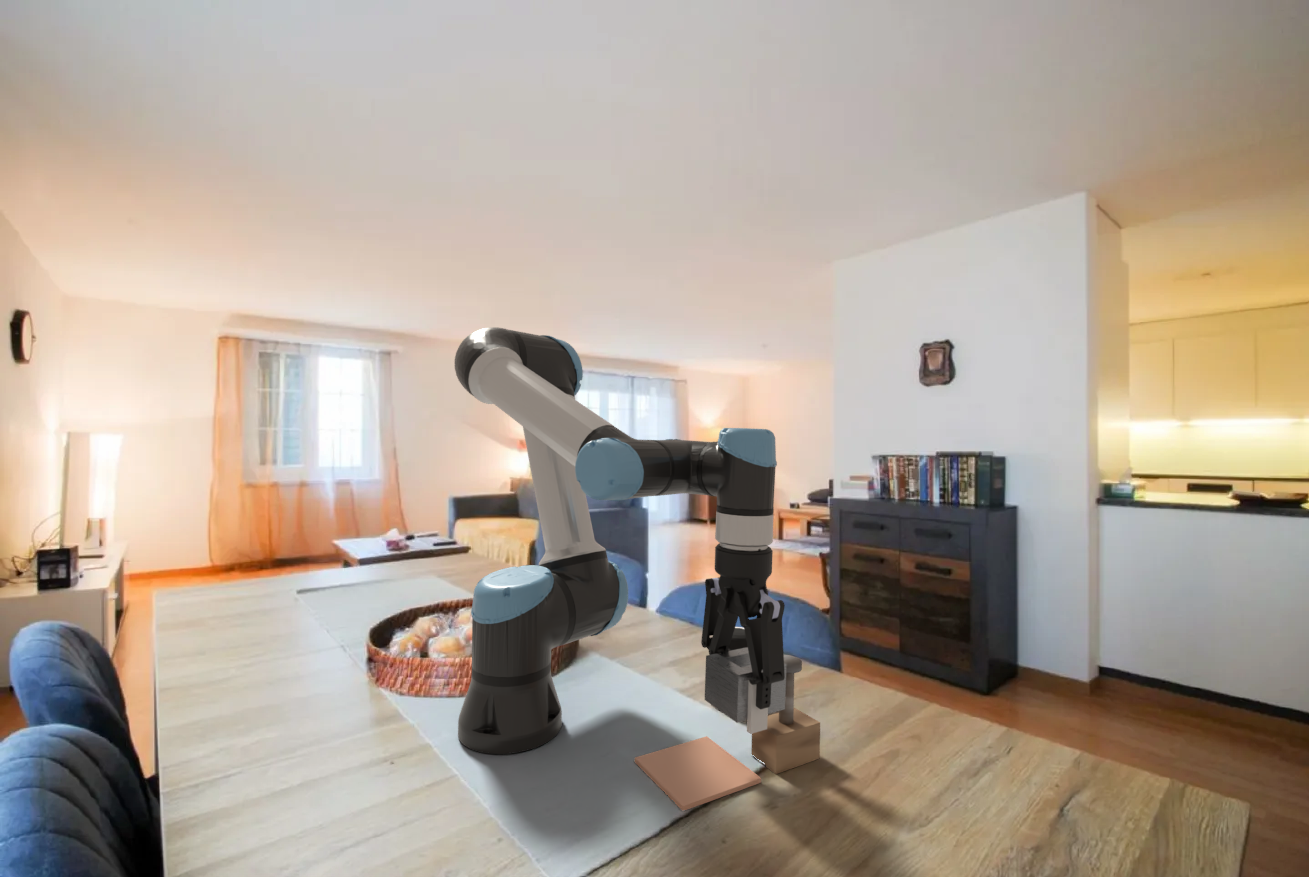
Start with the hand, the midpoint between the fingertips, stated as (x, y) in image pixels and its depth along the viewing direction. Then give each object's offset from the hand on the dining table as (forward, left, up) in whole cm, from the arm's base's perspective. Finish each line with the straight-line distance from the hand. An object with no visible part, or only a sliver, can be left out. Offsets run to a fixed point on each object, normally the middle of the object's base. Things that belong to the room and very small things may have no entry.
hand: (737, 716), depth 78 cm
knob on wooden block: (0, +8, -7) cm, 11 cm away
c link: (0, +1, +1) cm, 2 cm away
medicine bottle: (-17, +13, -8) cm, 22 cm away
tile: (-3, -5, -7) cm, 9 cm away
